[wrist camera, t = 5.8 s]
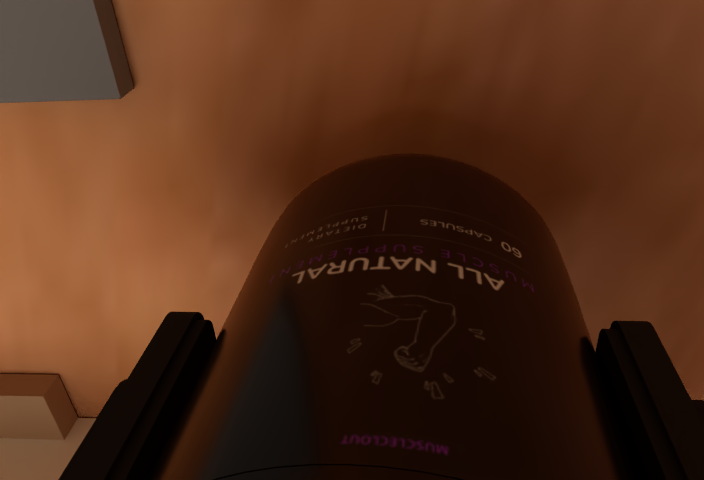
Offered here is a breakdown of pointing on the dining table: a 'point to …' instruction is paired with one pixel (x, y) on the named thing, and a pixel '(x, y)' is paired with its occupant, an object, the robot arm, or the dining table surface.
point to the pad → (61, 51)
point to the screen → (37, 427)
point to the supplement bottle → (402, 343)
